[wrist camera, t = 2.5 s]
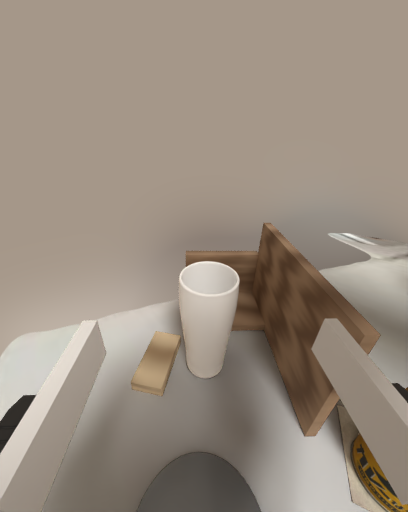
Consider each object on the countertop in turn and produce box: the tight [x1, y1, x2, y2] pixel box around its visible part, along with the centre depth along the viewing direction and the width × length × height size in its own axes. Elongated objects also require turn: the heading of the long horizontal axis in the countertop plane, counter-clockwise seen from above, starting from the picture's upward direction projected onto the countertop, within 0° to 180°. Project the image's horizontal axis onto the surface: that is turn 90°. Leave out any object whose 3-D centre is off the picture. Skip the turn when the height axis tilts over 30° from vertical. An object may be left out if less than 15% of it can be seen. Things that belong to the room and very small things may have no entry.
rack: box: [186, 223, 381, 436], centre depth 29 cm, size 24×15×16 cm, turn 3°
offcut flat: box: [131, 331, 181, 396], centre depth 29 cm, size 8×4×2 cm, turn 169°
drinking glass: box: [179, 261, 240, 378], centre depth 26 cm, size 7×7×15 cm
